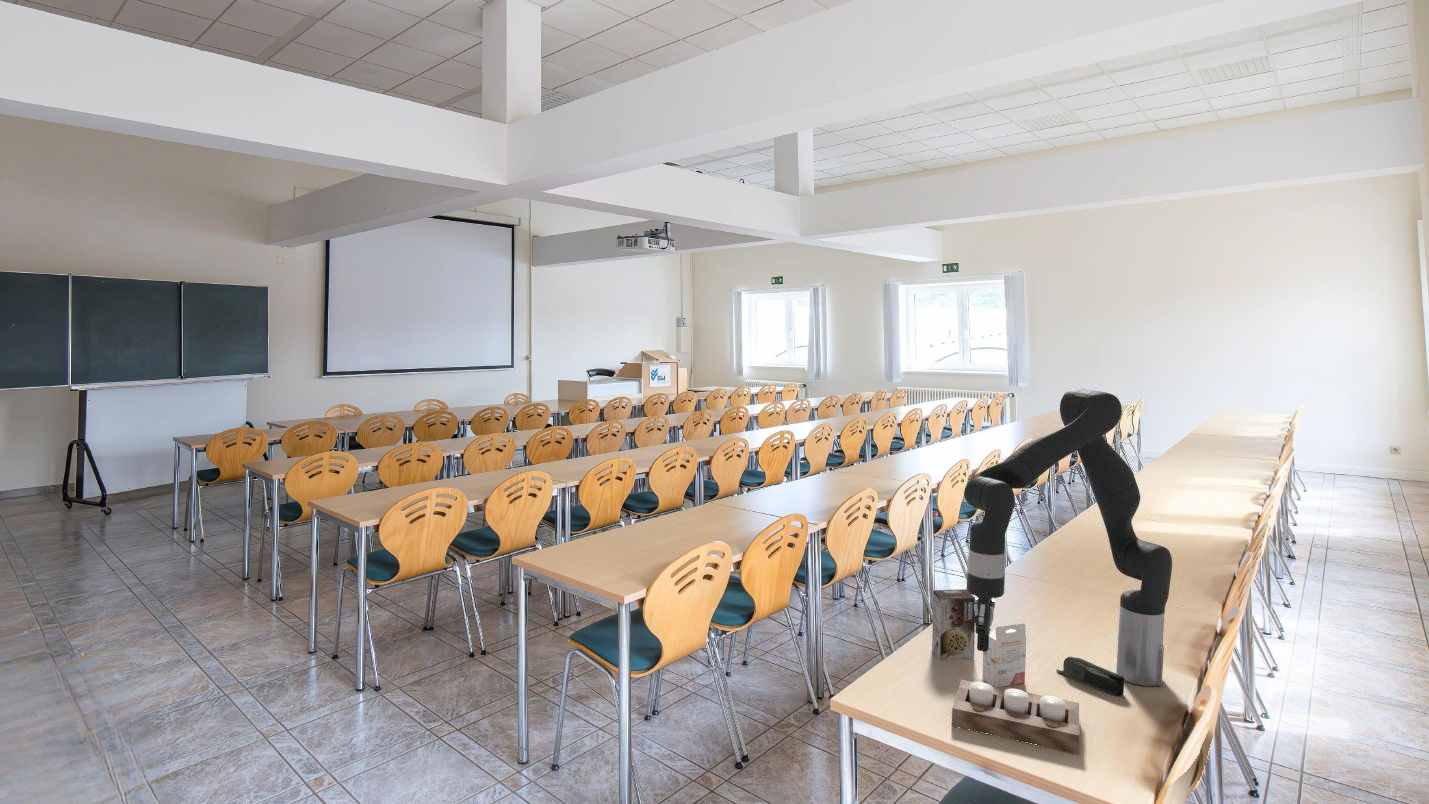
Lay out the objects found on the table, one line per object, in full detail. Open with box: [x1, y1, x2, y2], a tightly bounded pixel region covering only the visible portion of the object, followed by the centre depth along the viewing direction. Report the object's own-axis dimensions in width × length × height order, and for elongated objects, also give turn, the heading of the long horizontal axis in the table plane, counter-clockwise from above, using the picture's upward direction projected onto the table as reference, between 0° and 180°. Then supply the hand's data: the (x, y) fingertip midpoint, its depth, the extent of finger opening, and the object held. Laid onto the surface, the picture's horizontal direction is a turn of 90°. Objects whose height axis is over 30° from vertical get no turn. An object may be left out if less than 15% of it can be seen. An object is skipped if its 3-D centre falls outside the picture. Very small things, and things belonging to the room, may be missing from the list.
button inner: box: [1040, 695, 1066, 722], centre depth 153 cm, size 5×5×4 cm
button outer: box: [969, 681, 993, 707], centre depth 159 cm, size 5×5×4 cm
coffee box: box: [931, 588, 976, 660], centre depth 189 cm, size 9×6×16 cm
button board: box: [951, 679, 1080, 756], centre depth 156 cm, size 24×14×4 cm, turn 64°
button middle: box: [1004, 688, 1029, 715], centre depth 156 cm, size 5×5×4 cm
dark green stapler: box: [1056, 656, 1125, 697], centre depth 173 cm, size 5×3×15 cm
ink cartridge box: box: [982, 622, 1027, 688], centre depth 174 cm, size 9×5×15 cm, turn 105°
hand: (982, 649), depth 158 cm, fingers closed
